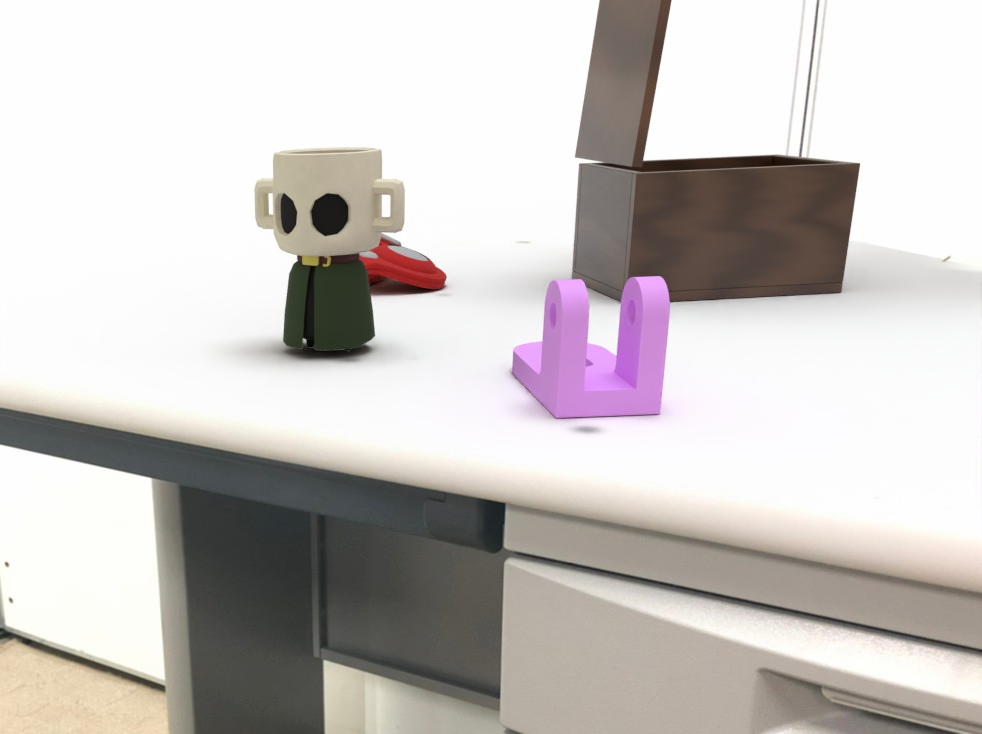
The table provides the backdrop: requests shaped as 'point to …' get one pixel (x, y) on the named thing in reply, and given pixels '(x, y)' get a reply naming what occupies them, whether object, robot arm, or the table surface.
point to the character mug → (328, 239)
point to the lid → (622, 80)
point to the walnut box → (716, 225)
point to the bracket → (598, 353)
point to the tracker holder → (401, 265)
